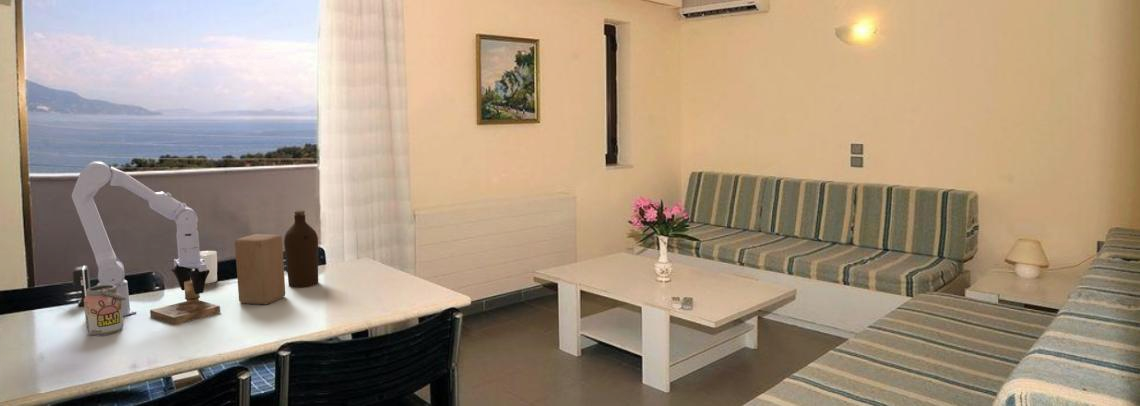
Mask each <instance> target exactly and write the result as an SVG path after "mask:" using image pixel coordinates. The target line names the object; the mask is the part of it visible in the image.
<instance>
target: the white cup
mask: <svg viewBox="0 0 1140 406" xmlns="http://www.w3.org/2000/svg"><path fill="white" fill-rule="evenodd" d="M200 259H204V262H203V263H204V264H206V267H207V269H208V270H210V272H209V274H208V276H207V278H206V281H205V285H206V284H213V283H215V282H217V281H218V274H217V273H218V252H217V251H216V250H201V251H200ZM192 271H195V269H192Z"/></svg>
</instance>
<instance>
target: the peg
mask: <svg viewBox="0 0 1140 406" xmlns="http://www.w3.org/2000/svg"><path fill="white" fill-rule="evenodd" d="M184 288H185V290H184V299H185V300H186V301H190V300H194V299H196V300H200V297H201V296H200V294H195V292H194V288H193V283H192V280H191V279H190V280H189V281H185V282H184Z"/></svg>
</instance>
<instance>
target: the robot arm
mask: <svg viewBox="0 0 1140 406" xmlns="http://www.w3.org/2000/svg"><path fill="white" fill-rule="evenodd" d="M107 183H109V186H114V187H122V188H125V189H127V190H128V191H130V192H132V193H133V194H135V195H137V196H138V197H140V198H142V199H143V200H146V201H147V202H148V206H149V208H150V209H151V210H153V211H155V212H156V213H158V214H160V215H162V216H163V217H165V218H166V219H168V220H169V221H170V220H171V221H172V220H173V221H174V223H175V224H176V244H177V246H176V247H177V255H178V256H177V258H175V259H173V265H174V267H173V268H171V272H172V274H174V276H175V278H176V280H177V281H178V284H179V286H180V289H181V291H185V288H184V282H185V281H189V280H192V283H193V288H194V292H195V294H199V295H200V294H203V293H204V290H205V285H206V284H205V281H206V278H207V276H208V274H209V272H210V270H208V269H207V267H206V264H204V263H203V262H204V259H200V240H199V231H198V222H199V217H198V215H197V213H196V212H195V210H194V209H193V208H192V207H190V206H187V204H186V203H185V202H180V201H179V200H177V199H176V198H174V197H172V194H171V193H170V192H164V191H157V192H155V191H154V190H152V189H151V188H149V187H148V186H146V185H144V184H143V183H142V182H140V181H138V180H137V179H135V178H134V177H132V176H131V175H130V174H128V173H126V172H125V171H122V170H120V169H119V168H116V167H114V166H110V165H108V163H106V162H104V161H101V160H94V161H91V162H89V163H88V164H87V165H85V166H84V168H83V169H82V170H81V171H80V173H79V175H78V178H77V180H76V182H75V185H74V188H73V190H72V193H71V199H72V201H73V204H74V206H75V209H76V211H77V215H78V217H79V220H80V222H81V224H82V227H83V230H84V232H85V235H86V238H87V241H88V242H89V245H90V247H91V250H92V252H93V255H94V258H95V263H96V265H97V268H98V273H97V280H98V281H99V282H98V283H97V284H96V286H100V285H115V286H116V287H117V290H116V291H117V292H118V293H119V294H121V295H123V296H125V297H126V299H125V300H121V304H122V314H123V317H124V316H129V315H134V314H136V313H137V312H138V311H136V310H134V309H131V307H130V295H129V287H128V286H129V285H128V280H126V279H125V276H126V274H125V266H124V263H123V262H122V261H121V260H120V259H119V258H118V257H117V255H116V253H115V251H114V249H113V247H112V246H113V245H111V244H112V243H111V241H110V239H109V236H108V233H107V231H106V228H105V226H104V222H103V221H102V217H101V215H100V213H99V210H98V207H97V205H96V202H95V200H94V197H95V196H96V195H97V193H98V192H99V190H100V188H102V187H104V186H105V185H106V184H107ZM193 269H195V271H193Z"/></svg>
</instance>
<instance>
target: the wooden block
mask: <svg viewBox="0 0 1140 406" xmlns="http://www.w3.org/2000/svg"><path fill="white" fill-rule="evenodd" d="M234 246H235V247H234V248H235V263H236V277H237V279H236V280H237V289H238V293H237V294H238V301H239V303H240V304H251V305H253V304H254V305H265V304H266V305H269V304H270V303H273V302H275V301H277V300H280V299H282V298H285V296H286V283H285V267H284V266H285V265H284V250H283V249H284V248H283V236H282V235H280V234H271V233H270V234H268V233H266V234H265V233H254V234H250V235H247V236H242V237H239V238H237V239H235V241H234Z"/></svg>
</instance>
